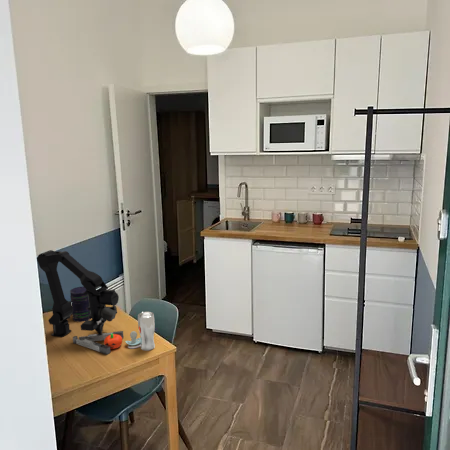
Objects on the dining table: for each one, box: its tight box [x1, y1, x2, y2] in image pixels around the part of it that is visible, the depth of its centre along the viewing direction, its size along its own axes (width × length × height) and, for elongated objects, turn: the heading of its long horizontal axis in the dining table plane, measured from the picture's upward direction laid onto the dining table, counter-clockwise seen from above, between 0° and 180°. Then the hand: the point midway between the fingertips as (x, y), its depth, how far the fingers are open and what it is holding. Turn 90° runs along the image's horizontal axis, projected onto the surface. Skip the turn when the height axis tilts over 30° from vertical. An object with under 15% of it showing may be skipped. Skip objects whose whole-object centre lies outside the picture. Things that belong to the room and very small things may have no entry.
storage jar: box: [69, 286, 92, 323], centre depth 208 cm, size 10×10×15 cm
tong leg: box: [78, 330, 124, 342], centre depth 185 cm, size 19×2×3 cm, turn 101°
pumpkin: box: [103, 334, 123, 350], centre depth 179 cm, size 7×8×6 cm
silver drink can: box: [137, 311, 156, 352], centre depth 177 cm, size 7×7×15 cm
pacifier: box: [125, 330, 141, 349], centre depth 179 cm, size 7×6×6 cm
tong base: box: [72, 335, 111, 356], centre depth 178 cm, size 22×2×3 cm, turn 59°
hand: (100, 335), depth 187 cm, fingers closed
